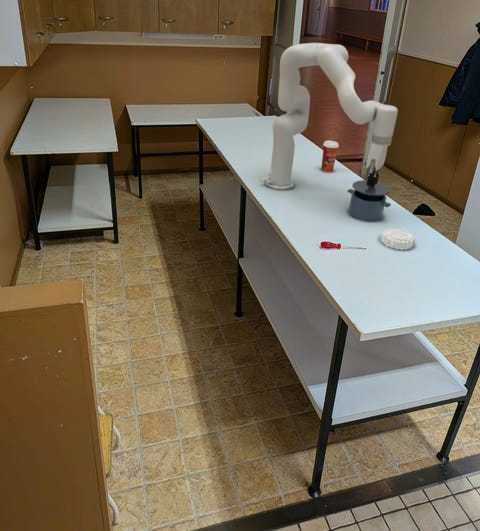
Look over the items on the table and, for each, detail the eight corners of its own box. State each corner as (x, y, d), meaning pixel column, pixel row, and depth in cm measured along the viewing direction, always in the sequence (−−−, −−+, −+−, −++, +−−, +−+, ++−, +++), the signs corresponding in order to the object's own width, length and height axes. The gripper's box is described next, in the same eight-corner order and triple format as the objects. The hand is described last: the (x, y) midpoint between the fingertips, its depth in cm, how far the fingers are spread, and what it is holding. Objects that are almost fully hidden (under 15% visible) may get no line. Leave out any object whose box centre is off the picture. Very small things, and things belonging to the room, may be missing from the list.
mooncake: (408, 253, 178) (410, 244, 176) (375, 243, 183) (377, 234, 181) (416, 241, 187) (419, 232, 185) (385, 231, 192) (387, 223, 190)
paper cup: (325, 173, 244) (329, 145, 237) (316, 168, 250) (320, 140, 242) (338, 171, 247) (342, 144, 240) (328, 166, 253) (333, 139, 246)
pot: (375, 226, 195) (380, 207, 191) (336, 210, 206) (340, 191, 202) (393, 217, 204) (398, 198, 200) (355, 202, 215) (358, 184, 211)
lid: (376, 200, 191) (380, 185, 188) (344, 188, 199) (347, 174, 196) (396, 191, 200) (399, 177, 197) (365, 180, 209) (367, 166, 206)
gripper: (377, 132, 197) (368, 176, 206) (365, 142, 184) (356, 188, 194) (396, 136, 194) (386, 181, 203) (384, 146, 181) (374, 193, 191)
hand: (371, 184), depth 198 cm, fingers closed on lid, 2 cm apart
